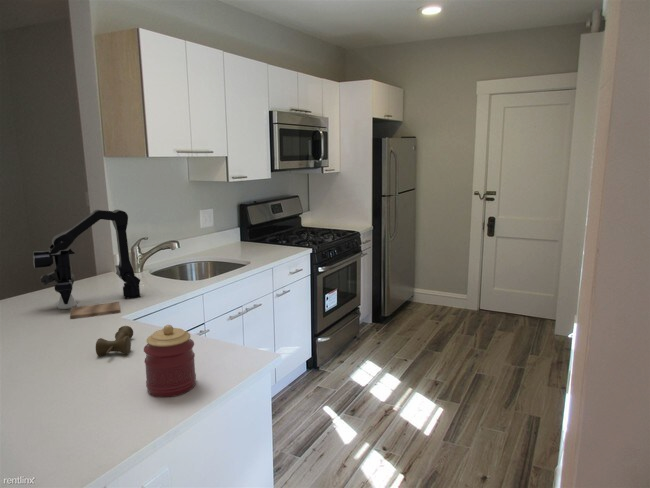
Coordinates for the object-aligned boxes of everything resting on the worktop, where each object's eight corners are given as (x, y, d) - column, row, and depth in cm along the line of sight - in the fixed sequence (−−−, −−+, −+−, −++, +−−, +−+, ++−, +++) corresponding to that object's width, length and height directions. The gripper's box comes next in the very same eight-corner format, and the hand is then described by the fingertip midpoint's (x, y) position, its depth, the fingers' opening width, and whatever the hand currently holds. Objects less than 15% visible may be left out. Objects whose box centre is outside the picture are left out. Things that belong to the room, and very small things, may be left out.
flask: (68, 310, 193) (66, 286, 191) (53, 309, 194) (50, 286, 193) (80, 305, 200) (78, 282, 198) (66, 304, 201) (63, 281, 200)
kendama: (141, 339, 163) (123, 361, 143) (112, 341, 162) (91, 364, 142) (139, 322, 162) (122, 343, 142) (111, 324, 161) (89, 345, 141)
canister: (159, 374, 134) (155, 316, 131) (203, 376, 133) (200, 317, 130) (137, 397, 122) (132, 333, 119) (185, 399, 120) (181, 334, 117)
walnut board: (119, 304, 200) (118, 301, 200) (120, 312, 190) (120, 309, 190) (71, 310, 193) (71, 307, 192) (70, 319, 182) (70, 316, 182)
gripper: (42, 262, 199) (46, 297, 202) (38, 271, 182) (42, 310, 185) (72, 260, 204) (75, 294, 206) (70, 269, 187) (73, 306, 190)
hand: (66, 301), depth 197 cm, fingers open, 9 cm apart
